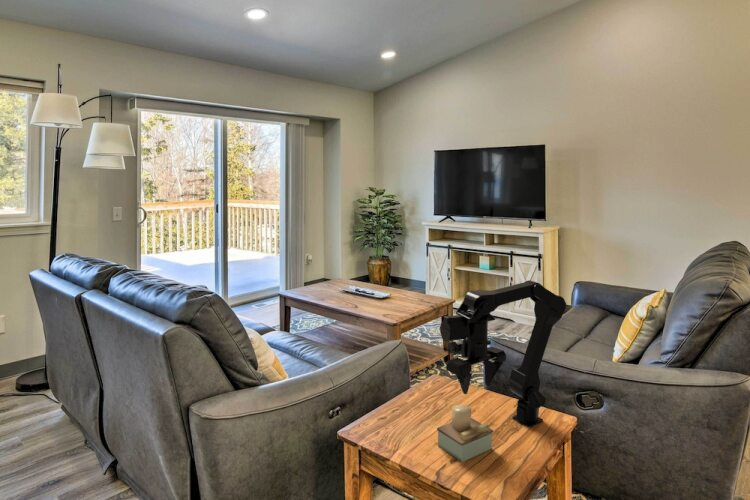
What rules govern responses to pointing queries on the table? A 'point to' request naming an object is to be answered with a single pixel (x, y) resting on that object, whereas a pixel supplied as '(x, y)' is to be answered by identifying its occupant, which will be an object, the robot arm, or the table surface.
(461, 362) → the robot arm
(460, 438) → the lid
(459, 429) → the dome-topped beige cylinder
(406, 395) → the table surface
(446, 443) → the box body
